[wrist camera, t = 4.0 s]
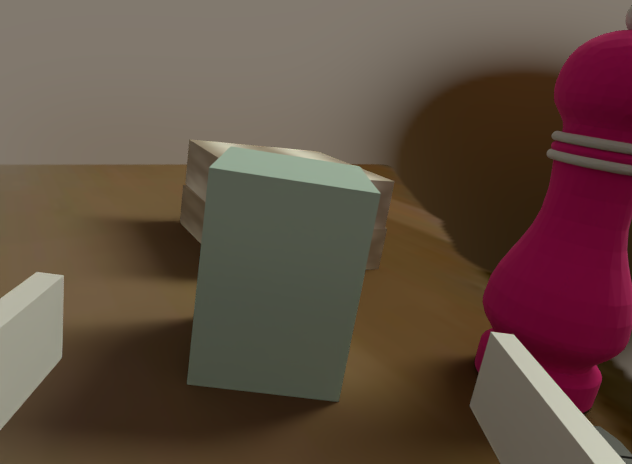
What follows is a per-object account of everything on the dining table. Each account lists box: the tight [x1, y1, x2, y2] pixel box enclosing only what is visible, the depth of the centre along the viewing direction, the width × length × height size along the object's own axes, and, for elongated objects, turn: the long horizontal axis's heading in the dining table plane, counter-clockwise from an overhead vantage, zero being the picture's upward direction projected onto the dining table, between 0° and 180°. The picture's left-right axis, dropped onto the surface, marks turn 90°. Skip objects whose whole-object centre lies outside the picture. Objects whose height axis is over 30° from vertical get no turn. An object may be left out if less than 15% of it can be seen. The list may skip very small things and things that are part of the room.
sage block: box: [187, 146, 381, 402], centre depth 25 cm, size 7×7×10 cm
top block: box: [186, 140, 394, 229], centre depth 42 cm, size 13×13×4 cm
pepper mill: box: [475, 6, 632, 413], centre depth 25 cm, size 7×7×20 cm
